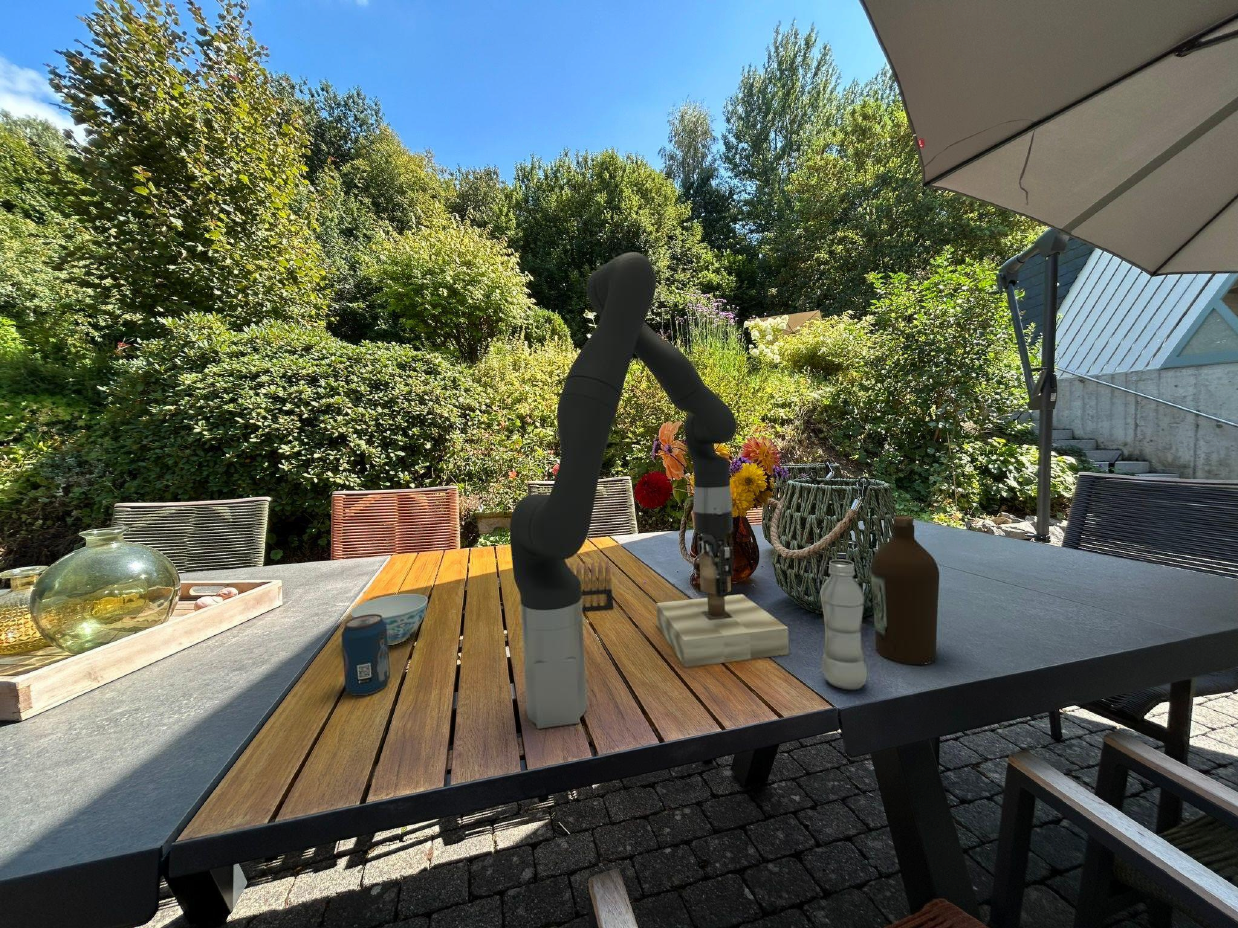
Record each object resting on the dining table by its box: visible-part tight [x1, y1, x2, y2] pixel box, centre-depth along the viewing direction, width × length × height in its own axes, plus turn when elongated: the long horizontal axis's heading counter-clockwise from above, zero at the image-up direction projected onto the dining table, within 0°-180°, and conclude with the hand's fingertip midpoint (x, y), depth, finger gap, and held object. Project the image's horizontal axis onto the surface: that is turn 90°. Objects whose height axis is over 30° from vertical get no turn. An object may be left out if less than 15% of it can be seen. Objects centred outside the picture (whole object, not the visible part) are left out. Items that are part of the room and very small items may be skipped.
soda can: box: [341, 614, 391, 696], centre depth 83 cm, size 7×7×12 cm
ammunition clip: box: [568, 560, 614, 613], centre depth 116 cm, size 11×2×12 cm, turn 96°
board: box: [656, 594, 790, 668], centre depth 97 cm, size 20×20×5 cm
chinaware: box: [349, 593, 429, 644], centre depth 103 cm, size 15×15×8 cm
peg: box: [698, 553, 732, 616], centre depth 96 cm, size 6×6×12 cm
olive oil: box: [870, 515, 940, 665], centre depth 86 cm, size 11×11×25 cm
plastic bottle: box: [820, 559, 868, 691], centre depth 77 cm, size 6×7×20 cm
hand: (715, 590), depth 96 cm, fingers closed on peg, 6 cm apart
